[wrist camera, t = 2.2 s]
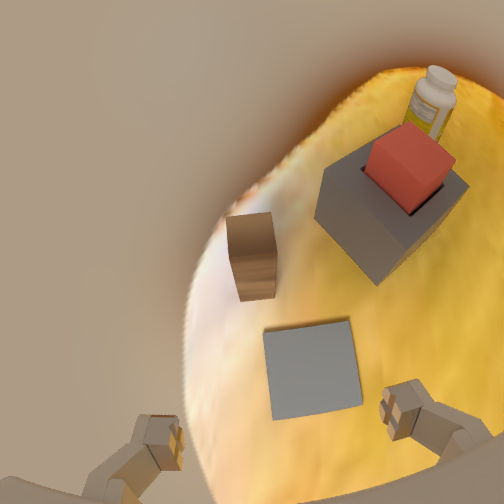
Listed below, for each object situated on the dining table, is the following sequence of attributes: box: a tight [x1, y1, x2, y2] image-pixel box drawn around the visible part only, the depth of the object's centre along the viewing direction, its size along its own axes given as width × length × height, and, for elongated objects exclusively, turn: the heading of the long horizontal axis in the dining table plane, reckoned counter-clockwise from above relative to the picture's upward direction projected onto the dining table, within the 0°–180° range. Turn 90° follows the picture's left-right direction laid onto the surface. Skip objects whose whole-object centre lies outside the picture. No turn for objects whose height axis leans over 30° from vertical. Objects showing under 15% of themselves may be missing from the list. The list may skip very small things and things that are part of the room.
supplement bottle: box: [402, 65, 458, 143], centre depth 38 cm, size 7×7×13 cm
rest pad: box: [263, 321, 363, 420], centre depth 30 cm, size 9×9×1 cm
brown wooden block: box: [226, 212, 277, 302], centre depth 29 cm, size 4×4×11 cm
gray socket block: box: [314, 125, 470, 286], centre depth 33 cm, size 13×11×9 cm
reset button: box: [364, 121, 456, 215], centre depth 28 cm, size 6×6×5 cm
